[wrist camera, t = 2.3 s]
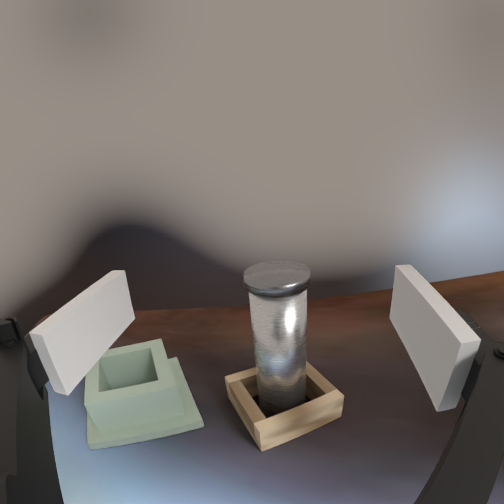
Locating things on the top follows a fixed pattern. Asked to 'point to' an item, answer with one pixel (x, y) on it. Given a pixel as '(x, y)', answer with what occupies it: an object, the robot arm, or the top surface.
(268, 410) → the silver capped cylinder
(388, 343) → the top surface
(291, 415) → the mount
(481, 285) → the top surface
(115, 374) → the socket
